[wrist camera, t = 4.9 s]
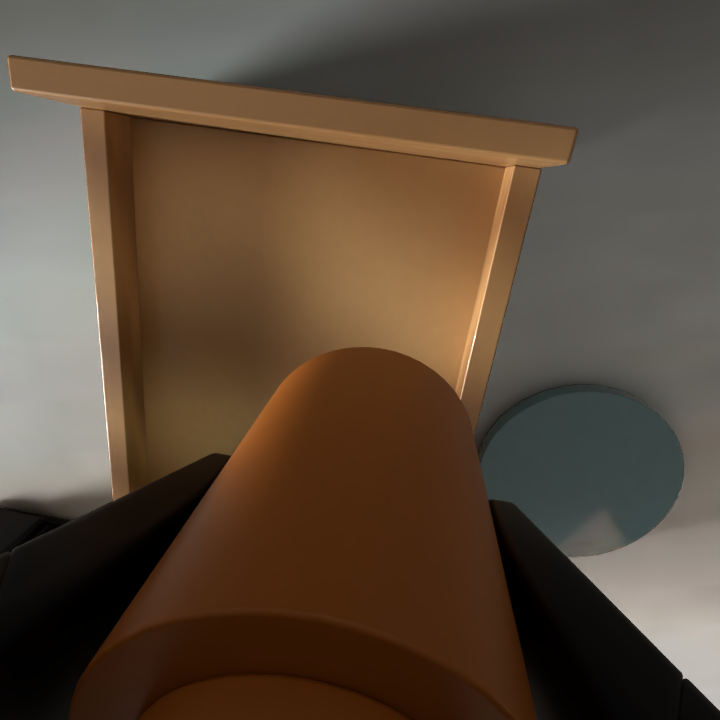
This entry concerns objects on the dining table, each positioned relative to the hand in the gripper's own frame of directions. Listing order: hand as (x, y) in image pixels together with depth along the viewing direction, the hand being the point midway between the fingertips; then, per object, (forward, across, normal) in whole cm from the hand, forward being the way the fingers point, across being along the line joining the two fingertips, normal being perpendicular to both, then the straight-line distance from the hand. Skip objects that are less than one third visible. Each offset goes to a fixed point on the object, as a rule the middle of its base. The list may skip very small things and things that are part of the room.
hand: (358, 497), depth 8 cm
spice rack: (+13, +4, +2) cm, 14 cm away
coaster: (+13, -10, +7) cm, 17 cm away
